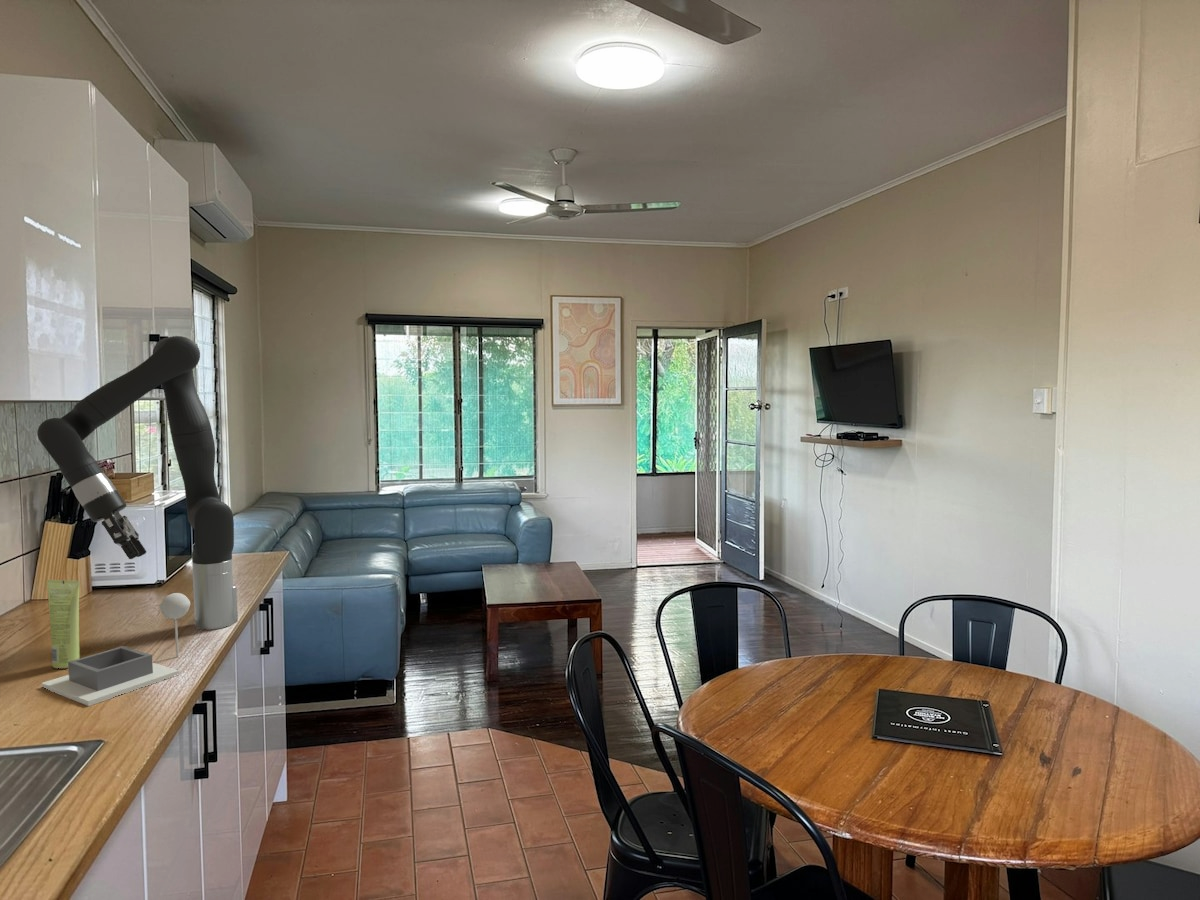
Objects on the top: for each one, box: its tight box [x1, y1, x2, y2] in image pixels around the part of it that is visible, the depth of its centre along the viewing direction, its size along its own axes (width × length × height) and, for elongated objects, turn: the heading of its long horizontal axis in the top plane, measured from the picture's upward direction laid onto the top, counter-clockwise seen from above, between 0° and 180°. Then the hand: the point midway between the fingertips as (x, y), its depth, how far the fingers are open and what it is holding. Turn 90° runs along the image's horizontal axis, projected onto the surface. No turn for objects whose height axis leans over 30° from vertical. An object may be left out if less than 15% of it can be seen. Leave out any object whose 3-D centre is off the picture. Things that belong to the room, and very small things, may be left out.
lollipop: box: [159, 592, 191, 657], centre depth 171 cm, size 6×6×15 cm
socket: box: [41, 645, 180, 707], centre depth 157 cm, size 18×18×5 cm
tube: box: [46, 579, 81, 669], centre depth 165 cm, size 6×5×20 cm
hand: (138, 556), depth 173 cm, fingers open, 8 cm apart
